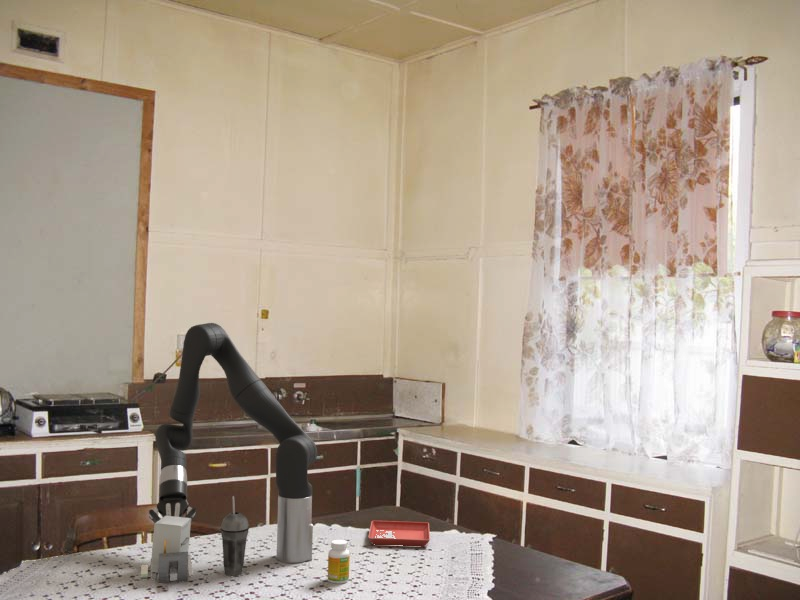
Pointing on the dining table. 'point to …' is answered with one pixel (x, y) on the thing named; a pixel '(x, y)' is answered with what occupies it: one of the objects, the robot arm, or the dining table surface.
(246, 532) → the beverage cup
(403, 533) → the plant saucer
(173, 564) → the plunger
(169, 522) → the supplement box
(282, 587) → the dining table surface
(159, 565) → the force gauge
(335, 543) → the supplement bottle
